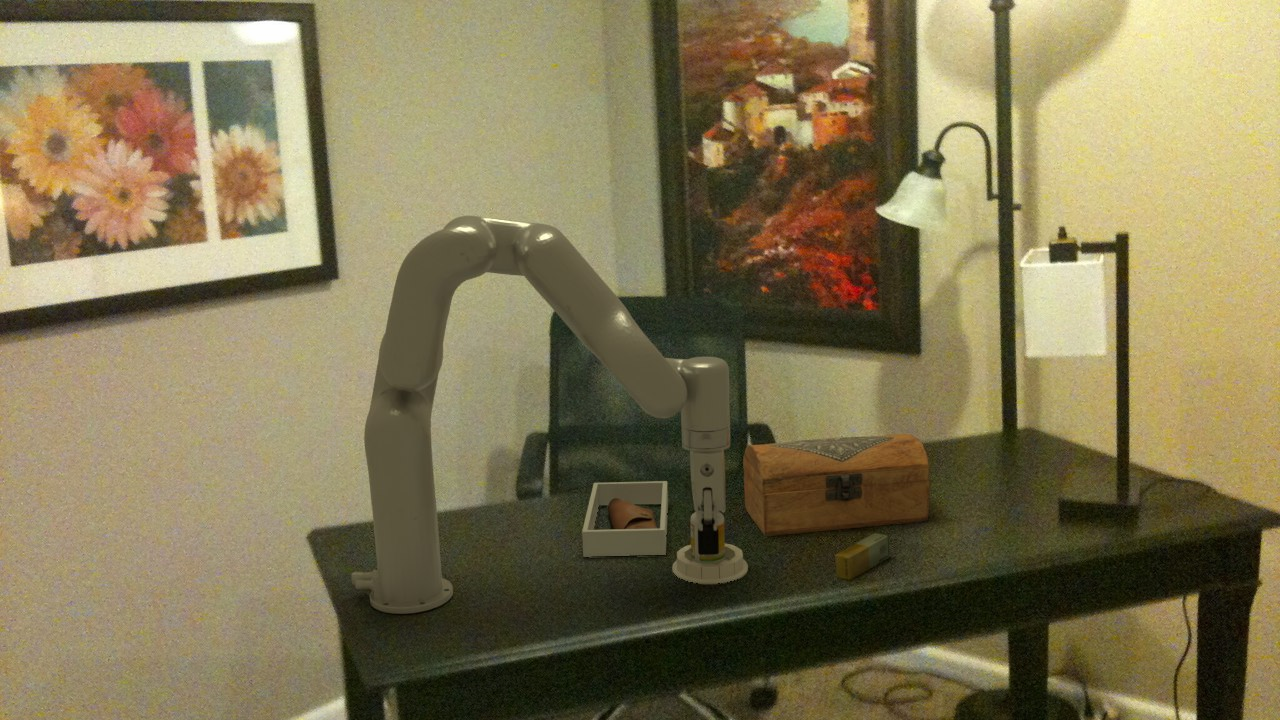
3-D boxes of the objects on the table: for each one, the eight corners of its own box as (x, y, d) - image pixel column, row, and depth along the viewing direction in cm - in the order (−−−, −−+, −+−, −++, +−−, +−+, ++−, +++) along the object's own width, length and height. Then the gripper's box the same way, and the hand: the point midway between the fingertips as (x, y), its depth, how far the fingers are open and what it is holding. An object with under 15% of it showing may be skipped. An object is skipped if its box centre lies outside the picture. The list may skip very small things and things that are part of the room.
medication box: (876, 554, 195) (875, 531, 195) (890, 558, 194) (890, 534, 193) (834, 578, 187) (834, 553, 186) (849, 581, 185) (849, 557, 184)
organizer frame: (583, 557, 198) (582, 531, 197) (594, 505, 223) (593, 482, 222) (665, 555, 198) (664, 530, 197) (667, 504, 223) (667, 481, 222)
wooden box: (763, 539, 204) (762, 461, 201) (743, 508, 220) (741, 435, 217) (933, 525, 207) (934, 448, 204) (901, 495, 223) (901, 423, 220)
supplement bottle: (732, 558, 191) (731, 500, 189) (709, 568, 187) (709, 509, 185) (706, 550, 195) (705, 493, 193) (684, 560, 191) (682, 502, 189)
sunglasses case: (668, 544, 202) (647, 514, 201) (634, 568, 202) (612, 537, 201) (652, 510, 220) (633, 481, 218) (621, 531, 220) (601, 503, 218)
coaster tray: (672, 585, 186) (671, 569, 185) (672, 556, 197) (672, 541, 197) (749, 583, 185) (749, 567, 185) (745, 554, 197) (745, 539, 196)
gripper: (732, 452, 178) (733, 566, 182) (728, 421, 195) (729, 527, 199) (681, 453, 178) (684, 567, 182) (682, 422, 195) (684, 528, 199)
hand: (708, 545), depth 190 cm, fingers closed on supplement bottle, 5 cm apart
